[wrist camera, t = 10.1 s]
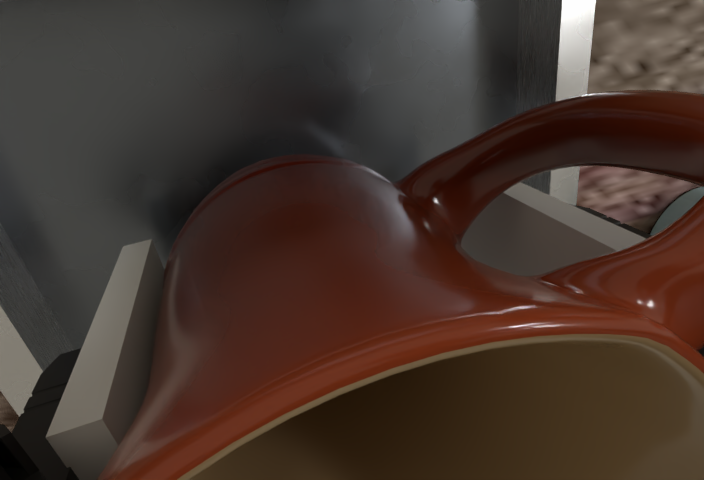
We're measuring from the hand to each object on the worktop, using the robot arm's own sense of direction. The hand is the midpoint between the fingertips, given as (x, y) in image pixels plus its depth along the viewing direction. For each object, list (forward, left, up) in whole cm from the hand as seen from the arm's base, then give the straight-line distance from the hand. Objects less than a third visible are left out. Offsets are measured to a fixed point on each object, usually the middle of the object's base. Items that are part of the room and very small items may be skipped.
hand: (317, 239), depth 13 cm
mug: (-1, 0, -1) cm, 1 cm away
